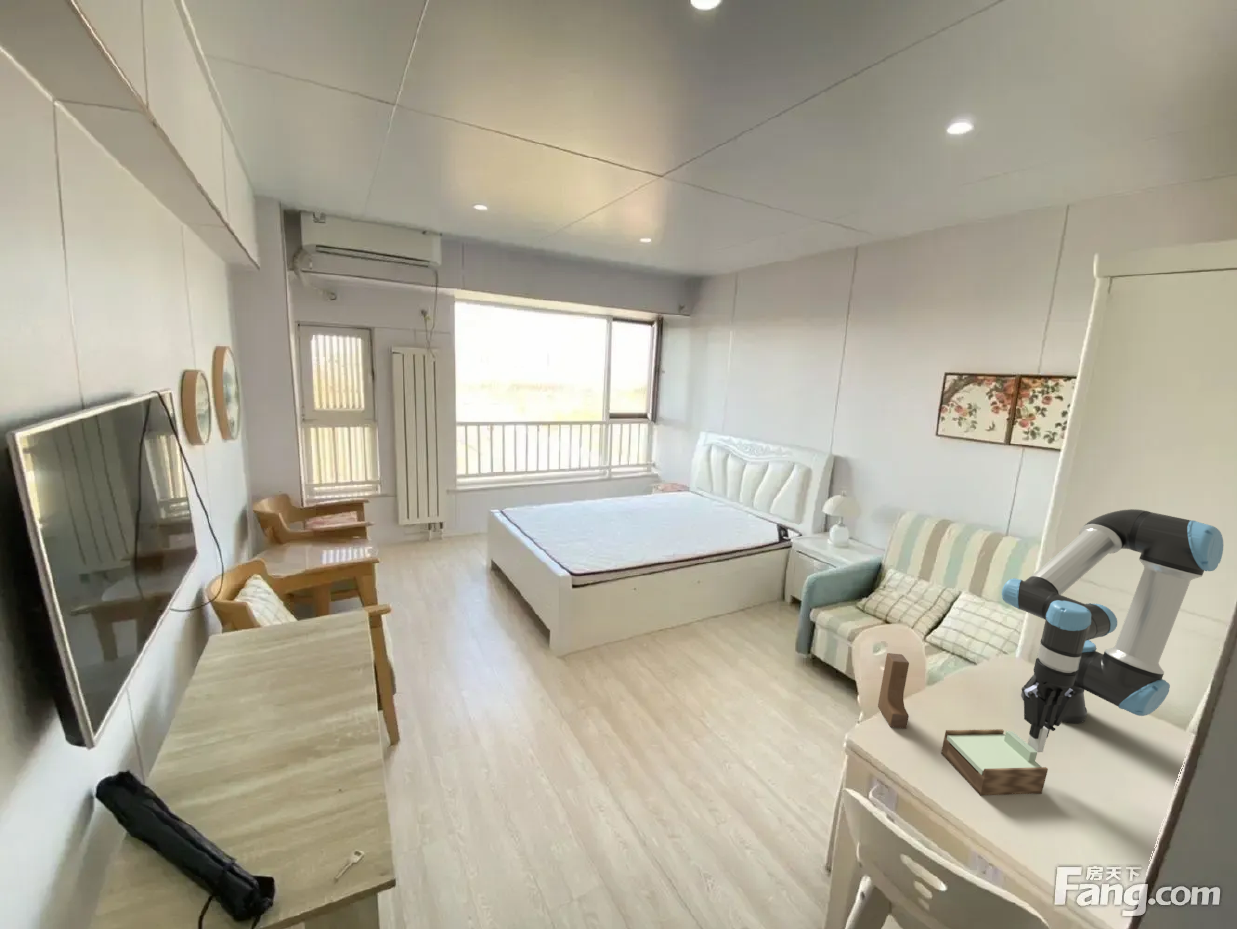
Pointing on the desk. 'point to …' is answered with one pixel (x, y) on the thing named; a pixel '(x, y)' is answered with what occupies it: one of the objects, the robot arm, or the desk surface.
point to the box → (994, 771)
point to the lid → (995, 751)
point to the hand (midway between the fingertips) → (1035, 748)
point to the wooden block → (894, 691)
